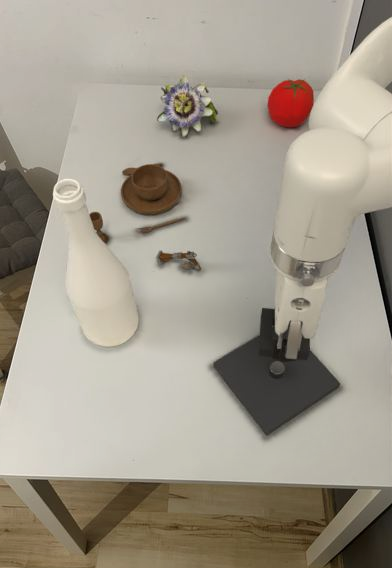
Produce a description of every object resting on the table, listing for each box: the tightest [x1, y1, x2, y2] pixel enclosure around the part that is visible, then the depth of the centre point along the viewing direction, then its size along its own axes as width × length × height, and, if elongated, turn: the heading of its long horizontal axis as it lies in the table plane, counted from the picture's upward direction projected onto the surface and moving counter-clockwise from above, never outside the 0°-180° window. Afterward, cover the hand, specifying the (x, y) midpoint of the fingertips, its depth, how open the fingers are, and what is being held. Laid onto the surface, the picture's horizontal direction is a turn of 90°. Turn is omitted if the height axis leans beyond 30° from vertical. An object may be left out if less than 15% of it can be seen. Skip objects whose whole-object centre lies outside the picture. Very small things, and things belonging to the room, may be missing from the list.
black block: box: [258, 307, 311, 360], centre depth 68 cm, size 7×7×2 cm
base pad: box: [213, 326, 341, 436], centre depth 77 cm, size 14×14×3 cm
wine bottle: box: [52, 178, 140, 348], centre depth 71 cm, size 10×10×30 cm
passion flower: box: [156, 74, 219, 138], centre depth 107 cm, size 11×11×12 cm
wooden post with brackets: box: [155, 249, 202, 272], centre depth 89 cm, size 2×8×4 cm, turn 69°
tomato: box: [266, 78, 315, 128], centre depth 106 cm, size 9×10×8 cm
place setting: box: [89, 162, 186, 244], centre depth 96 cm, size 18×20×6 cm
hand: (284, 334), depth 68 cm, fingers closed on black block, 6 cm apart
